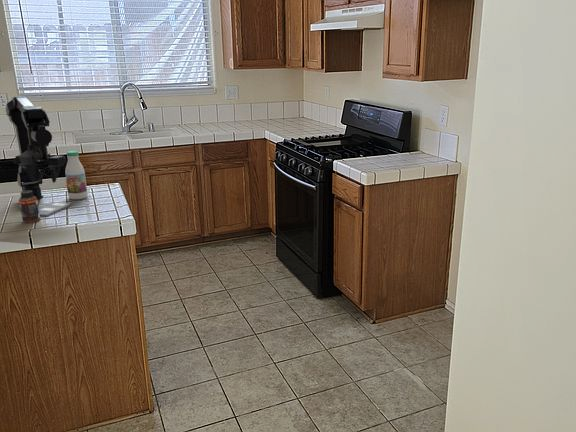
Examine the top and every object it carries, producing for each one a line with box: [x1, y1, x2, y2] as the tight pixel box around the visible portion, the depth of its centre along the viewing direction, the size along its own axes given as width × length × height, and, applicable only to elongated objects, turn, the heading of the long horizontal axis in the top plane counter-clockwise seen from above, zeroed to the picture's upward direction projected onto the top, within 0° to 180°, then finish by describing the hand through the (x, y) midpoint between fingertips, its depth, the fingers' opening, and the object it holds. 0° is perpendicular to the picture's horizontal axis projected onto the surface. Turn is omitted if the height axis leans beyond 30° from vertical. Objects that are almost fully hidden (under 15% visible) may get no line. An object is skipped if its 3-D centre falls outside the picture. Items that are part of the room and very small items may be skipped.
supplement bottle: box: [18, 190, 41, 224], centre depth 187 cm, size 6×6×11 cm
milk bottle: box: [64, 150, 88, 200], centre depth 217 cm, size 8×8×20 cm
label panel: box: [38, 201, 73, 218], centre depth 202 cm, size 10×16×1 cm, turn 167°
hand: (43, 181), depth 197 cm, fingers open, 9 cm apart
